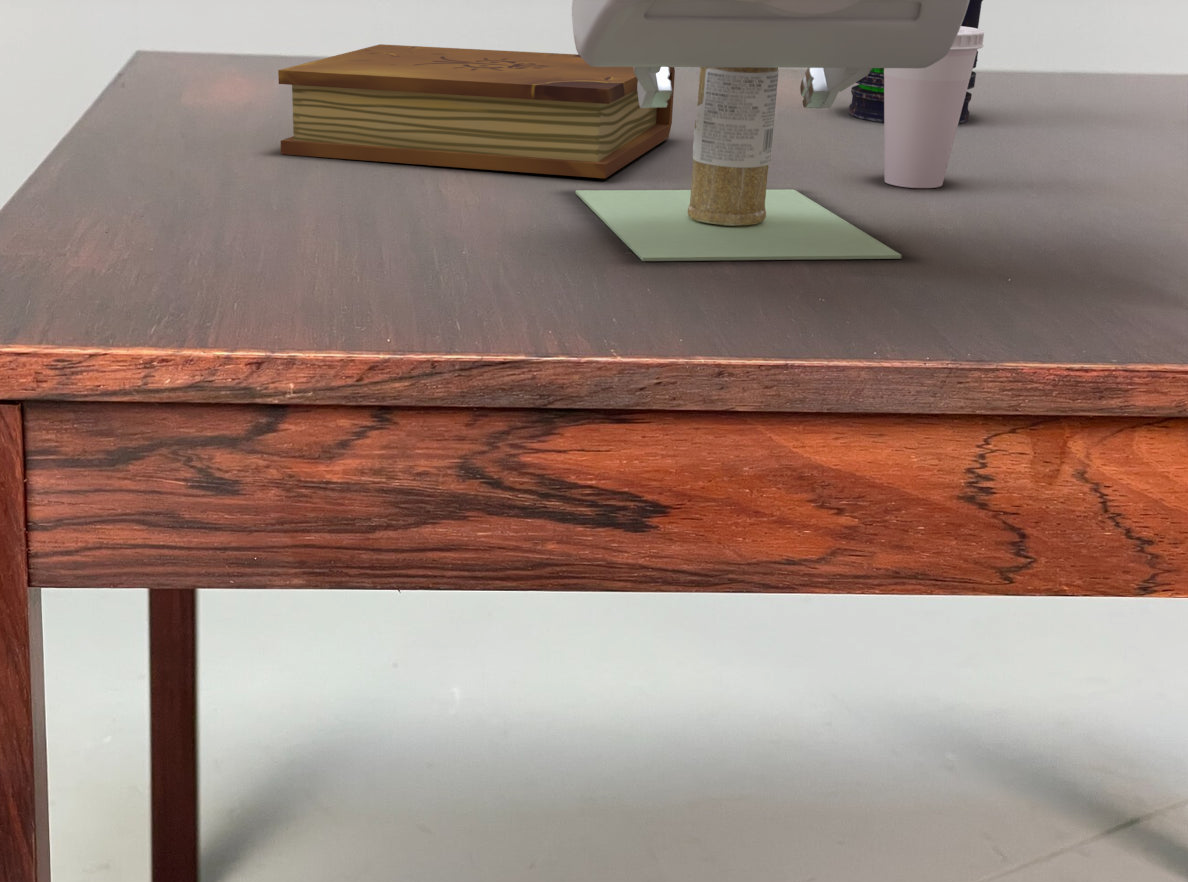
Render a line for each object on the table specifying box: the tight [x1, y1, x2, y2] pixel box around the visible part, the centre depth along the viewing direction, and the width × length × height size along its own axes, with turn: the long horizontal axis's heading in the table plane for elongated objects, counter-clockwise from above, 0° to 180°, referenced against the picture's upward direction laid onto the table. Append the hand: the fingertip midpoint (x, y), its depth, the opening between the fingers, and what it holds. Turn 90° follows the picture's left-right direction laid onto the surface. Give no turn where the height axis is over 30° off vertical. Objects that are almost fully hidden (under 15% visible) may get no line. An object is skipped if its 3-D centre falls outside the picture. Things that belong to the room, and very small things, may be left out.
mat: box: [575, 189, 902, 262], centre depth 93 cm, size 18×14×1 cm
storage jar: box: [848, 0, 984, 124], centre depth 131 cm, size 10×10×15 cm
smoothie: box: [883, 26, 985, 189], centre depth 103 cm, size 6×6×14 cm
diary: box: [277, 43, 676, 179], centre depth 115 cm, size 23×19×6 cm
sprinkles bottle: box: [688, 67, 780, 226], centre depth 90 cm, size 5×5×14 cm
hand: (732, 98), depth 91 cm, fingers open, 8 cm apart
